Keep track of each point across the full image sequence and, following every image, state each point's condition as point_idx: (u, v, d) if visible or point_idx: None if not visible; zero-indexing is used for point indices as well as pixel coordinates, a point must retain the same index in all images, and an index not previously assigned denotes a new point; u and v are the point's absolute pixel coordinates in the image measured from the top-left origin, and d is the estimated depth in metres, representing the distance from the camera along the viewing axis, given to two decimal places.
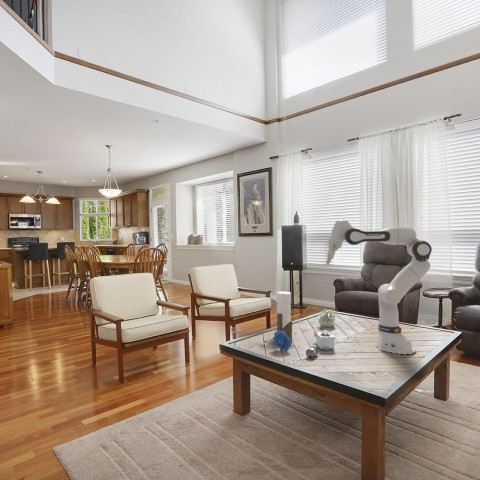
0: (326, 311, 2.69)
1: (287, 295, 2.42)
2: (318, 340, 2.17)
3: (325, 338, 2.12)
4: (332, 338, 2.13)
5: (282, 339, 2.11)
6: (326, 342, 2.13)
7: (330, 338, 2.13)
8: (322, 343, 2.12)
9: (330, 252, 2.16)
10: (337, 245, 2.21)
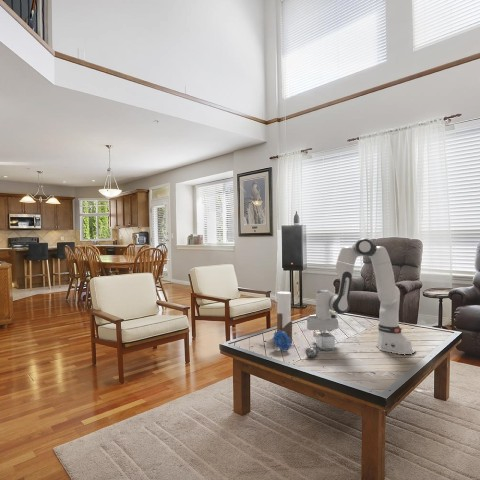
0: None
1: (287, 295, 2.42)
2: (318, 340, 2.17)
3: (325, 338, 2.12)
4: (332, 338, 2.13)
5: (282, 339, 2.11)
6: (327, 342, 2.13)
7: (330, 338, 2.13)
8: (323, 343, 2.12)
9: (307, 324, 2.26)
10: (317, 316, 2.23)
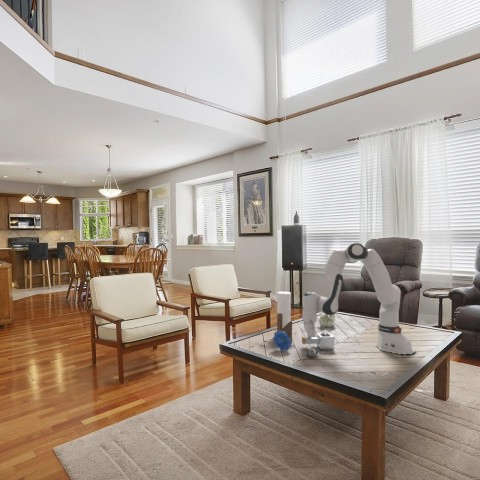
0: None
1: (287, 295, 2.42)
2: (327, 342, 2.13)
3: None
4: None
5: (282, 339, 2.11)
6: None
7: None
8: None
9: (310, 331, 2.08)
10: (313, 320, 2.14)
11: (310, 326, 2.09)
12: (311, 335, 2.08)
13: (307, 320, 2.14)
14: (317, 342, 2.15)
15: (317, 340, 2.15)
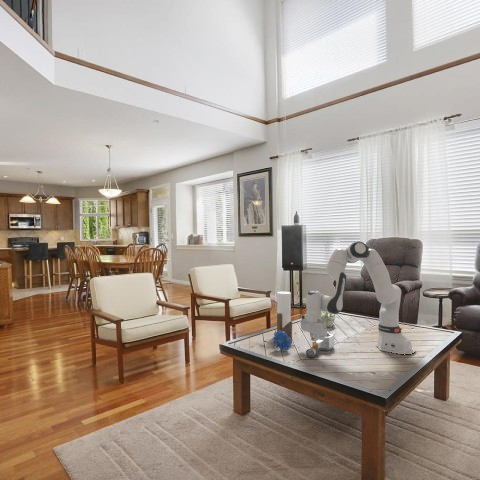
0: None
1: (287, 295, 2.42)
2: (331, 342, 2.14)
3: None
4: None
5: (282, 339, 2.11)
6: None
7: None
8: None
9: (323, 331, 2.02)
10: (320, 319, 2.09)
11: (322, 325, 2.03)
12: (324, 334, 2.02)
13: (315, 320, 2.07)
14: (323, 344, 2.12)
15: (323, 342, 2.12)
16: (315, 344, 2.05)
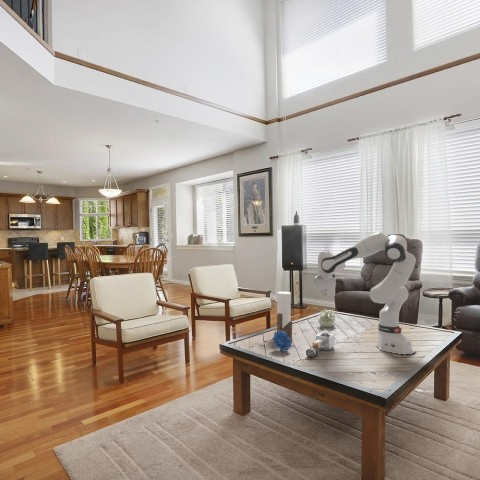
0: (326, 311, 2.69)
1: (287, 295, 2.42)
2: (331, 342, 2.14)
3: None
4: None
5: (282, 339, 2.11)
6: None
7: None
8: None
9: (313, 285, 2.30)
10: (322, 276, 2.32)
11: (314, 280, 2.31)
12: (313, 288, 2.30)
13: (318, 276, 2.35)
14: (323, 344, 2.12)
15: (323, 342, 2.12)
16: (315, 344, 2.05)
